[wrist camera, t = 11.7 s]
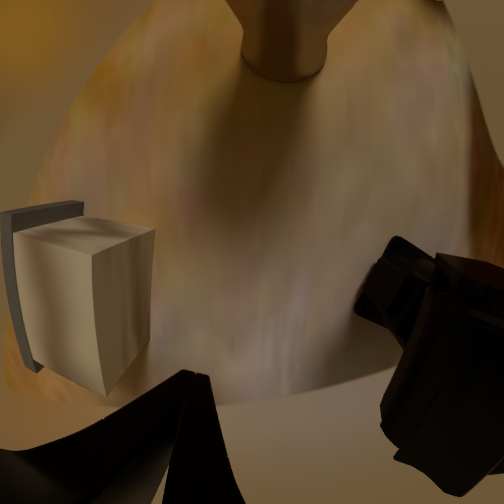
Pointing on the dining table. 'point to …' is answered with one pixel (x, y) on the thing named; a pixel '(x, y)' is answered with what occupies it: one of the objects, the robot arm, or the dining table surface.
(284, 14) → the beer glass
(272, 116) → the dining table surface
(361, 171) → the dining table surface
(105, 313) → the maple block
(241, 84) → the dining table surface
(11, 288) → the backstop board
